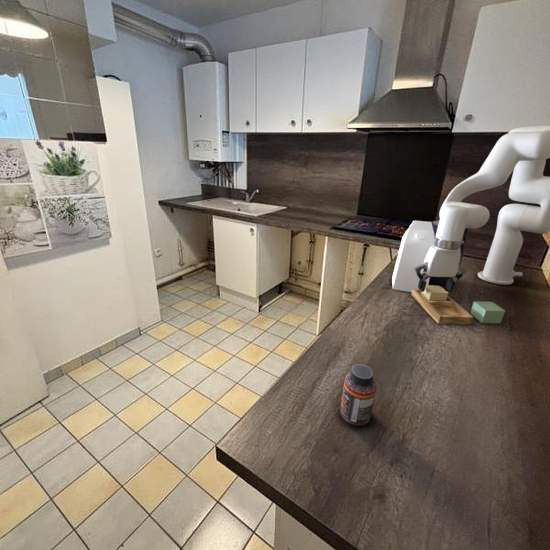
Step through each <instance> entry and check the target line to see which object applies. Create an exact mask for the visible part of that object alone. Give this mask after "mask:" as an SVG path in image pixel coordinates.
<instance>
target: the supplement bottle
mask: <svg viewBox="0 0 550 550" xmlns="http://www.w3.org/2000/svg"><path fill="white" fill-rule="evenodd" d="M374 374H375V373H374V370H373V369H372V367H370V366H369V365H366V364H363V363H356V364H354V365H352V367H351V369H350V372H348V373H347V374H346V375H345V377H344V380H343V381H344V382H343V388H342V395H341V400H340V409H339V410H340V415H341V417H342V418H343V420H344V421H345V422H346V423H348V424H350V425H352V426H355V427H361V426H365V425H366V424H368V423H369V422H370V420H371V417H372V411H373V408H374V403H375V399H376V393H377V382H376V379H375V378H374Z"/></svg>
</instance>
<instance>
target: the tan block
mask: <svg viewBox="0 0 550 550" xmlns="http://www.w3.org/2000/svg"><path fill="white" fill-rule="evenodd" d="M421 295H422V296H423V297H424V298H425V299H426V300H427V301H446V299H447V296H449V291H447V290H446V289H444V288H443V286H442V285H433V284H432V285H430V284H428V285H426V287H425V291H424V292H421Z"/></svg>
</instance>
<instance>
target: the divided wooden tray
mask: <svg viewBox="0 0 550 550" xmlns="http://www.w3.org/2000/svg"><path fill="white" fill-rule="evenodd" d="M421 292H422V291H421V290H419V289H412V292H410V293H411V294H410V295H411V296H412V297H413V299H414V300H415V301H416V302H417V303H418V304H419V305H420V306H421V307H422V308H423V309H424V311H426V312H427V314H428V315H429V316H431V318H432V319H433V320H434V321H435V322H436V323H437V324H438V325H439V324H440V325H472V324H473V322H474V318H475V317H474V316H473V315H472V314H470V312H469V311H467V310H466V309H465V308H463V307H462V306H461V305H460V304H459V303H458V302H456V300H454V299H453V298H452V297H451V296H449V295H448V296H447V299H446V301H427V300H426V299H425V298H424V297H423V296H422V295H421Z"/></svg>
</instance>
